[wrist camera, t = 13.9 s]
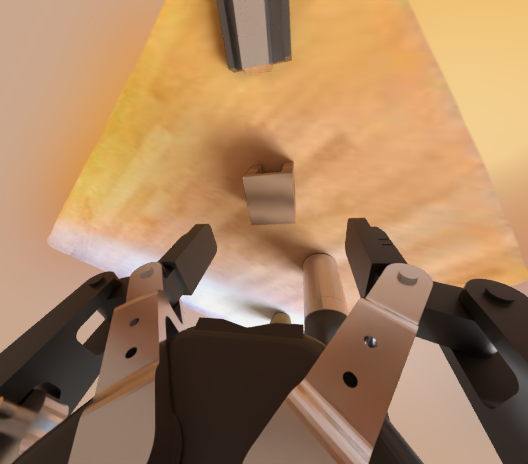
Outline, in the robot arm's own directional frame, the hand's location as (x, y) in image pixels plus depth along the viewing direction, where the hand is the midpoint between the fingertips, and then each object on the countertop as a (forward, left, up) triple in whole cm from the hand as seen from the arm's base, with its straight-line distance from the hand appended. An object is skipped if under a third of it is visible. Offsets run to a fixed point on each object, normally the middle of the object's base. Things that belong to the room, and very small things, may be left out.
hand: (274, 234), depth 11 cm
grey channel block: (+18, -1, -32) cm, 37 cm away
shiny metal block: (+18, -1, -31) cm, 36 cm away
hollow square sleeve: (-6, +6, -32) cm, 33 cm away
